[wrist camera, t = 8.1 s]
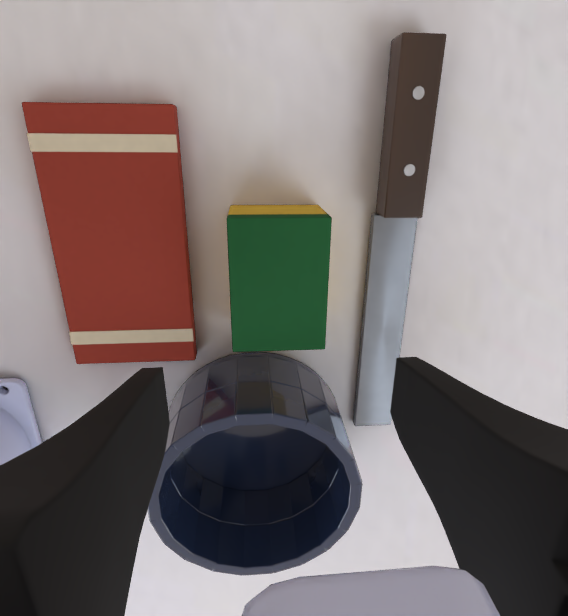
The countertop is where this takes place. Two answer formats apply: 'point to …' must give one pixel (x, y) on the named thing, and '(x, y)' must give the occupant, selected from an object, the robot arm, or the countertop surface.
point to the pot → (254, 467)
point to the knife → (396, 216)
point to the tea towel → (116, 227)
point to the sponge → (278, 276)
